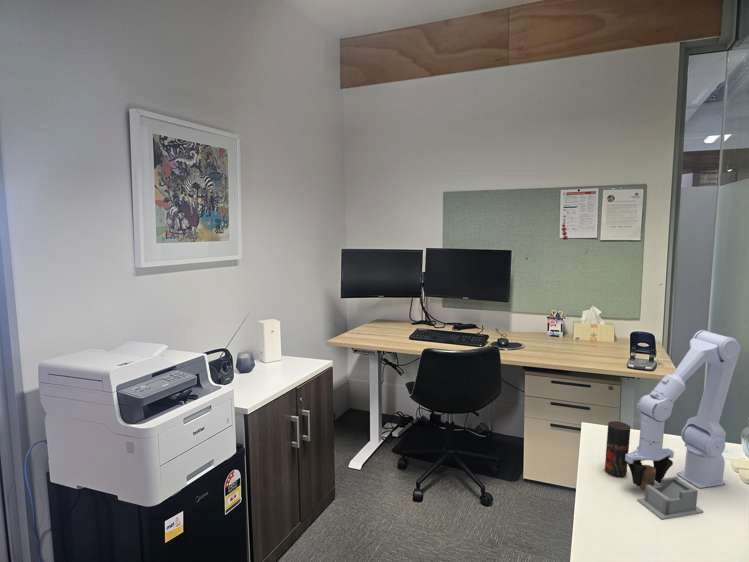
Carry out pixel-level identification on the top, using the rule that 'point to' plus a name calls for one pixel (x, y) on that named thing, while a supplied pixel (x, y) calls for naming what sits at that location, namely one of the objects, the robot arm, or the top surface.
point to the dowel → (648, 477)
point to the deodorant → (617, 449)
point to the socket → (671, 499)
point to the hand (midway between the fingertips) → (647, 482)
